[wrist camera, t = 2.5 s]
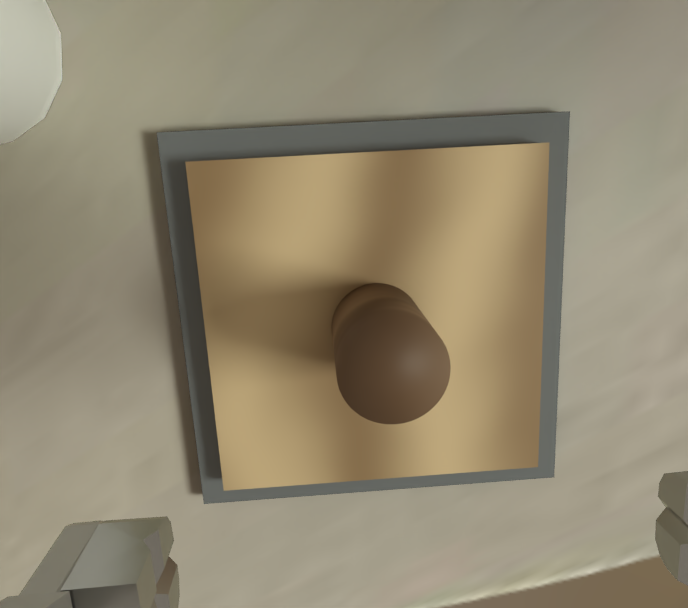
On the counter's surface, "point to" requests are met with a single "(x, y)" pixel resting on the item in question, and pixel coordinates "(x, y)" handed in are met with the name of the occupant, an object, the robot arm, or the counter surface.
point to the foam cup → (27, 65)
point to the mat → (355, 140)
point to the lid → (373, 311)
